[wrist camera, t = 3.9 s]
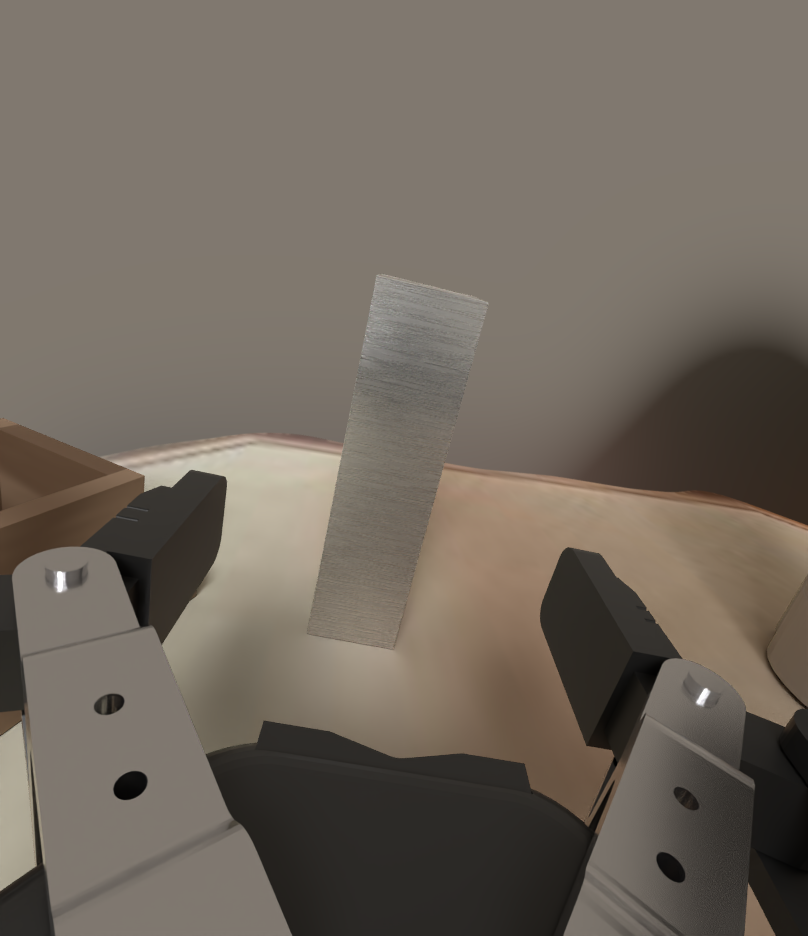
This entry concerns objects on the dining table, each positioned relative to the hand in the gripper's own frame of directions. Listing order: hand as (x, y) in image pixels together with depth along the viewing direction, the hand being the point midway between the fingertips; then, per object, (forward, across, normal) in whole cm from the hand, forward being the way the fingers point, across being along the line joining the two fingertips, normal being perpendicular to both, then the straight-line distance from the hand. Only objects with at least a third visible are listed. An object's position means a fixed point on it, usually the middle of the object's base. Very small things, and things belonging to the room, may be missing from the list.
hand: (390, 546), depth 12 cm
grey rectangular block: (+8, 0, +8) cm, 12 cm away
